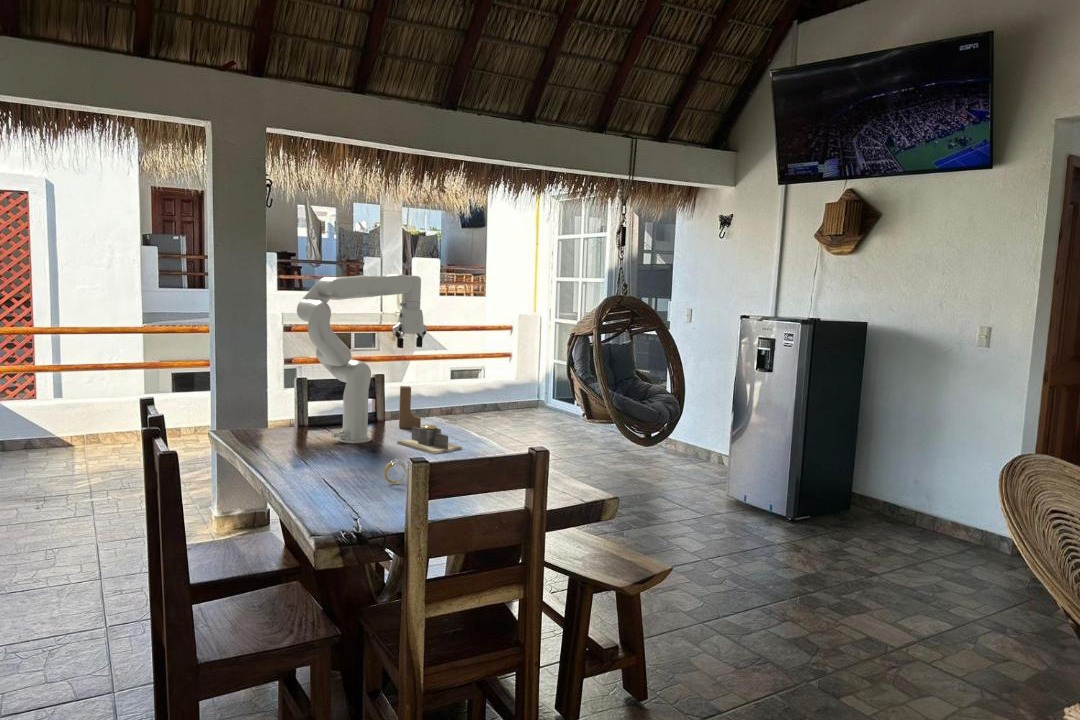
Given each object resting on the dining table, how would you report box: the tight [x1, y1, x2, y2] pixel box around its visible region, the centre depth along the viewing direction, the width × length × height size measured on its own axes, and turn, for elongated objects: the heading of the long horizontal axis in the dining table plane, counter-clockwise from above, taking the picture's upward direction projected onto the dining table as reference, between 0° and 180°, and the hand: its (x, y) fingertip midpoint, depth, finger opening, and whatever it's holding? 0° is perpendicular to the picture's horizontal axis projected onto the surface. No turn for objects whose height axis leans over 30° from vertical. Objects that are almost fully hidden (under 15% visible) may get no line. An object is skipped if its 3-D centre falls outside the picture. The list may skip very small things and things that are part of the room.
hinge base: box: [396, 427, 463, 455], centre depth 281 cm, size 14×22×7 cm, turn 48°
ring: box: [383, 458, 408, 485], centre depth 227 cm, size 7×3×8 cm, turn 105°
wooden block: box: [398, 385, 422, 430], centre depth 314 cm, size 9×4×18 cm, turn 103°
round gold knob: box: [422, 424, 438, 430], centre depth 281 cm, size 5×5×6 cm
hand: (409, 347), depth 298 cm, fingers open, 9 cm apart
